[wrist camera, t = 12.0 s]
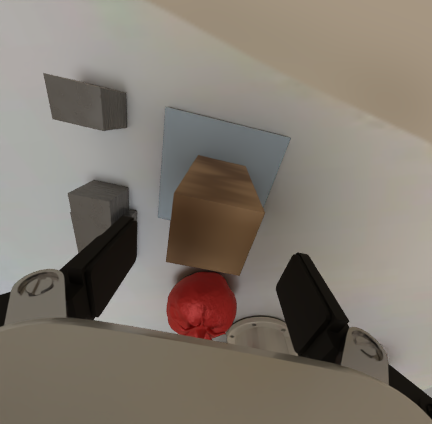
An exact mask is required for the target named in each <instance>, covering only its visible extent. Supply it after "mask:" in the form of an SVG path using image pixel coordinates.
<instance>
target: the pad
mask: <svg viewBox="0 0 432 424" xmlns="http://www.w3.org/2000/svg"><path fill="white" fill-rule="evenodd" d="M290 139H291V138H290V137H286V136H282V135H278V134H274V133H270V132H266V131H262V130H258V129H254V128H250V127H246V126H242V125H238V124H234V123H230V122H226V121H222V120H218V119H214V118H210V117H206V116H202V115H198V114H194V113H190V112H186V111H182V110H178V109H174V108H170V107H166V108H165V122H164V136H163V151H162V165H161V179H160V193H159V208H158V218H162V219H167V220H171V213H172V204H173V196H174V192H175V191H176V189H177V187H178V186H179V184H180V183H181V181H182V180H183V178H184V176H185V175H186V173H187V172H188V170H189V169H190V167H191V165H192V164H193V162H194V161H195V159H196V158H197V156H198V155H200V156H205V157H209V158H213V159H217V160H222V161H226V162H230V163H234V164H239V165H243V166H246V168H247V171H248V173H249V176H250V178H251V180H252V183H253V185H254V188H255V190H256V193H257V195H258V197H259V200H260V202H261V205H262V207H264V205H265V202H266V200H267V197H268V195H269V192H270V190H271V187H272V185H273V182H274V179H275V177H276V174H277V172H278V169H279V167H280V164H281V162H282V159H283V157H284V154H285V152H286V149H287V147H288V144H289V141H290Z"/></svg>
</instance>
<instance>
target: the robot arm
mask: <svg viewBox="0 0 432 424" xmlns="http://www.w3.org/2000/svg"><path fill="white" fill-rule="evenodd" d="M136 255H137V221H135V220H134V218H133V217H128V216H121V217H120V218H119V219H118V220H117V221H116V222H115V223H114V224H112V225H111V226H110V227H109V228H108V229H107V230H106V231H105V232H104V233H103V234H101V235H99V236H98V237H96V238H95V239H94V240H93V241H92V242H91V243H89V244H88V245H87V246H86V247H85V248H84V249H83V250H82V251H80V252H79V253H78V254H77V255H76V256H75V257H74V258H73V259H72V260H70V261H69V262H68V263H67V264H66V265H65V266H64V267H63V268H61V269H60V270H55V269H45V270H39V271H36V272H33V273H31V274H28V275H26V276H24V277H23V278H22V279H20V280H19V281H18V282H17V283H16V284H15V285H14V286H13V288H12V290H11V292H8V293H5V294H2V295H0V424H432V398H431V397H429V396H428V395H427V394H426V393H424V392H423V391H422V390H421V389H419V388H418V387H417V386H416V385H414V384H413V383H412V382H411V381H409V380H408V379H407V378H406V377H404V376H403V375H402V374H400V373H399V372H398V371H397V370H395V369H394V368H393V367H392V366H390V365H389V364H388V358H387V355H386V353H385V351H384V349H383V348H382V346H381V345H380V344H379V342H378V341H377V340H376V339H375V338H374V337H372V336H371V335H370V334H369V333H367V332H366V331H364V330H362V329H360V328H357V327H351V328H349V326H348V324H347V323H348V322H349V320H348V318H347V317H346V315H345V313H344V312H343V310H342V309H341V307H340V305H339V304H338V302H337V300H336V299H335V297H334V296H333V294H332V292H331V291H330V289H329V288H328V286H327V284H326V283H325V281H324V279H323V278H322V276H321V275H320V273H319V271H318V270H317V268H316V267H315V265H314V263H313V262H312V260H311V259H310V257H309V256H308V255H307V254H302V253H296V254H294V255H293V256H292V257H291V259H290V261H289V263H288V265H287V267H286V268H285V270H284V272H283V274H282V276H281V278H280V280H279V281H278V283H277V286H276V291H277V295H278V298H279V302H280V305H281V308H282V312H283V315H284V318H285V322H286V323H284V322H282V321H280V320H278V319H275V318H270V317H251V318H246V319H243V320H240V321H238V322H236V323H235V324H233V325H232V326H231V327H230V328H229V330H228V332H227V342H228V343H224V342H219V341H213V340H208V339H202V338H196V337H191V336H185V335H179V334H174V333H168V332H162V331H156V330H151V329H145V328H139V327H133V326H127V325H121V324H115V323H108V322H102V321H95V320H94V318H95V317H99V316H100V315H101V313H102V312H103V310H104V309H105V307H106V306H107V304H108V303H109V301H110V300H111V298H112V296H113V295H114V293H115V292H116V290H117V289H118V287H119V286H120V284H121V283H122V281H123V280H124V278H125V276H126V275H127V273H128V272H129V270H130V269H131V267H132V266H133V264H134V262H135V260H136Z"/></svg>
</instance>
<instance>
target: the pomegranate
mask: <svg viewBox="0 0 432 424" xmlns="http://www.w3.org/2000/svg"><path fill="white" fill-rule="evenodd" d="M236 311H237V303H236V298H235V295H234V293H233V292H232V291H231V289H230V288H229V286H228V284H227V282H226V280H225V278H224V277H223V276H221V275H220V274H218V273H216V272H198V273H194V274H192V275H190V276H187V277H185V278H183V279H182V280H181V281H179V282H178V283H177V284H176V285H175V286H174V288H173V289H172V290H171V292H170V294H169V296H168V303H167V317H168V323H169V325H170V327H171V328H172V329H173V330H174V331H175V332H177V333H178V334H180V335H185V336H191V337H196V338H202V339H208V340H212V338H215V337H217V336H220V335H223V334H226V333H225V332H226V331H227V330H228V329H229V328H230V327H231V325H232V323H233V321H234V319H235V316H236Z"/></svg>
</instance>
